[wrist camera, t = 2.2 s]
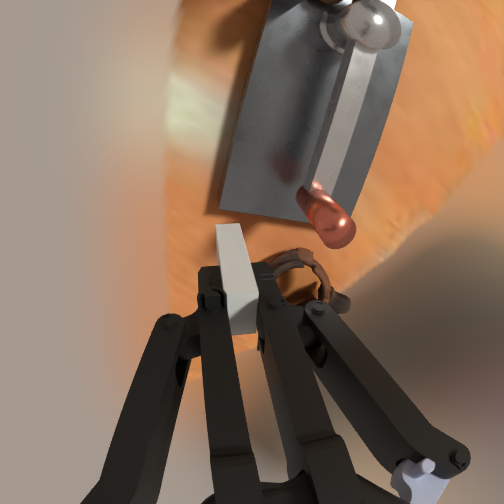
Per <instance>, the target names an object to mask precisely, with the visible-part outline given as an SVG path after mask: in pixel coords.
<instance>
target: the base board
mask: <svg viewBox="0 0 504 504" xmlns="http://www.w3.org/2000/svg"><path fill="white" fill-rule="evenodd" d="M351 3H352V0H343V1H342V2H340V3H338V4H326V3H324V2H322V1H321V0H269V2H268V6H267V9H266V12H265V15H264V19H263V22H262V26H261V29H260V32H259V36H258V39H257V43H256V46H255V50H254V53H253V57H252V61H251V64H250V68H249V72H248V75H247V79H246V83H245V87H244V91H243V95H242V98H241V102H240V106H239V110H238V114H237V118H236V122H235V127H234V131H233V135H232V139H231V143H230V148H229V152H228V156H227V161H226V165H225V170H224V174H223V179H222V183H221V188H220V193H219V197H218V206H219V209H221V210H228V211H235V212H242V213H248V214H255V215H262V216H268V217H274V218H281V219H287V220H293V221H299V222H305V223H310V222H309V220H308V219H307V217H306V216H305V214H304V213H303V211H302V210H301V208H300V207H299V205H298V204H297V202H296V193H297V191H298V189H299V188H300V187H301V186H302V185H303V183H304V180H305V177H306V174H307V171H308V168H309V165H310V162H311V159H312V156H313V152H314V149H315V146H316V143H317V140H318V137H319V133H320V130H321V127H322V124H323V120H324V117H325V114H326V111H327V107H328V104H329V101H330V97H331V94H332V91H333V87H334V84H335V81H336V77H337V74H338V70H339V67H340V63H341V60H342V56H343V53H344V49H342V48H340V47H338V46H337V45H336V44H334V43H333V41H332V40H331V39H330V37H329V36H328V33H327V30H326V20H327V17H328V15H329V14H330V13H331V12H332V11H334V10H336V9H338V8H341V7H344V6H346V5H349V4H351ZM394 12H395V13H396V14H397V16H398V18H399V20H400V23H401V37H400V40H399V42H398V43H397V44H396V45H395V46H394V47H392V48H390V49H380V50H378V52H377V55H376V59H375V63H374V66H373V70H372V73H371V77H370V80H369V83H368V87H367V90H366V93H365V97H364V100H363V103H362V106H361V110H360V113H359V116H358V119H357V122H356V125H355V128H354V131H353V134H352V137H351V140H350V143H349V146H348V149H347V152H346V155H345V158H344V161H343V164H342V167H341V170H340V172H339V175H338V178H337V181H336V184H335V186H334V189H333V192H332V195H331V197H332V198H333V199H334V200H335V201H336V202H337V204H338V205H339V206H340V207H341V208H342V209H343V210H344V211H345V212H346V213H347V214H348V215H349V216H350V217H351V215H352V212H353V210H354V207H355V205H356V202H357V200H358V197H359V195H360V192H361V190H362V187H363V184H364V182H365V179H366V177H367V174H368V171H369V169H370V166H371V163H372V160H373V158H374V155H375V152H376V149H377V146H378V144H379V141H380V138H381V135H382V132H383V129H384V126H385V123H386V120H387V117H388V114H389V110H390V107H391V104H392V101H393V98H394V94H395V91H396V88H397V84H398V81H399V77H400V74H401V70H402V66H403V63H404V59H405V55H406V51H407V47H408V43H409V39H410V35H411V31H412V26H413V22H412V21H410V20H409V19H407V18H406V17H404V16H403V15H401V14H399V13H398V12H396V11H394Z"/></svg>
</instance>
